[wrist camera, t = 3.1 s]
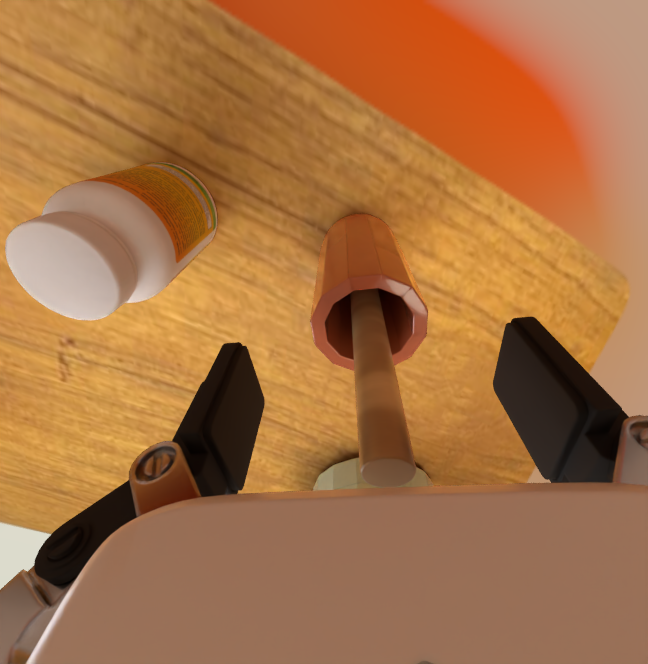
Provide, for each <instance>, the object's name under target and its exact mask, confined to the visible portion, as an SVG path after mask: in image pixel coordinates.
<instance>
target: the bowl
mask: <svg viewBox="0 0 648 664" xmlns="http://www.w3.org/2000/svg"><path fill="white" fill-rule="evenodd" d="M422 486H433V483H432V482H431V480H430V479H429V477H428V476H427V474H426V473H425V472H424V471H423V470H421V469H419V468H417V467H416V474H415V476H414V478H413V479H412V480H411V481H410V482H408V483H406V484H404V485H402V486H398V487H422ZM365 488H382V487H376V486H373V485H370V484H369V483H367V482H366V481H364V480H363V478H362V476H361V474H360V463H359V458H354V459H351V460H348V461H344V462H341V463H338V464H334V465H333V466H331V467H330V468H328V469H327V470H326V471H324V472H323V473H321V474H320V475H319V476H318V478H317V481H316V483H315V485H314V487H313V490H338V489H365Z"/></svg>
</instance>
